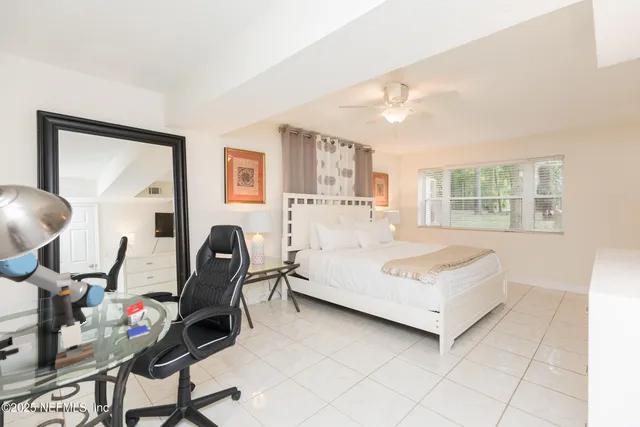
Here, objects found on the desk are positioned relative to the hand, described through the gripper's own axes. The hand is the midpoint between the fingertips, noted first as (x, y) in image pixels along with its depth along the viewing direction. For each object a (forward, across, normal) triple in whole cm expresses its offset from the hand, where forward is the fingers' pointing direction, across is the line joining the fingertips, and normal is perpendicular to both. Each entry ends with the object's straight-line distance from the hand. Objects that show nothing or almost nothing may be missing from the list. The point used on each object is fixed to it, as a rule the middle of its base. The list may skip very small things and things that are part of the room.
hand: (33, 340), depth 117 cm
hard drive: (+36, -7, -13) cm, 39 cm away
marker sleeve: (+12, 0, -6) cm, 13 cm away
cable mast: (+12, 0, -12) cm, 17 cm away
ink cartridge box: (+38, -27, -12) cm, 48 cm away
